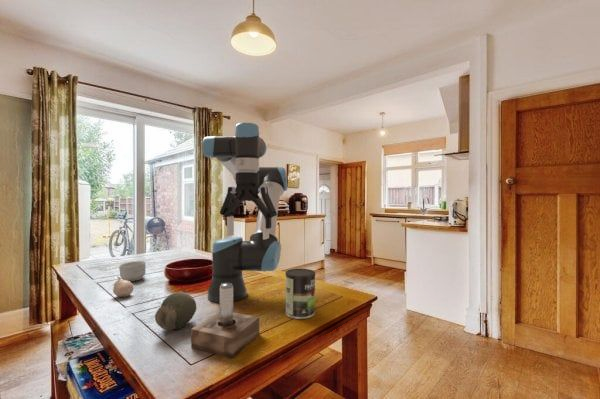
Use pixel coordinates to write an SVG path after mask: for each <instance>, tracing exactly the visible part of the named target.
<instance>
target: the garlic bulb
mask: <svg viewBox="0 0 600 399" xmlns="http://www.w3.org/2000/svg"><path fill="white" fill-rule="evenodd" d="M116 278H117V279H118V280H116V281H115V282H114V283H113V287H112V288H113V289H112V292H113V294H114V295H115V296H116V297H121V298H123V297H124V298H125V297H129V296H130V295H131V294H132V293H133V291H134V288H135V286H134V285H133V283H132V281H131V282H129V281H128V280H123V279H121V277H120V276H118V275H117V277H116Z"/></svg>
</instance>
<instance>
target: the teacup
mask: <svg viewBox="0 0 600 399" xmlns="http://www.w3.org/2000/svg"><path fill="white" fill-rule="evenodd" d="M118 268H119V277H120V278H121V279H122V280H128V281H131V282H135V280H136V281H139V280H141V279H142V278H143V277H144V276H145V275H146V261H143V260H137V261H129V262H124V263H122V264H119V265H118Z"/></svg>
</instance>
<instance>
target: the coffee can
mask: <svg viewBox="0 0 600 399" xmlns="http://www.w3.org/2000/svg"><path fill="white" fill-rule="evenodd" d="M315 304H316V272H315V270H312V269H309V268H293V269H291V268H290V269H287V270H286V271H285V315H286V316H287V317H288V318H291V319H295V320H306V319H310V318H312V317H314V316H315V315H316V314H315V313H316V311H315V310H316V308H315V306H316V305H315Z"/></svg>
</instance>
